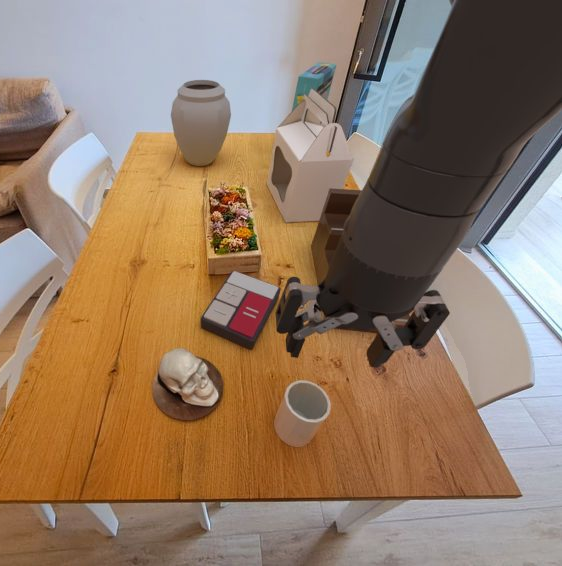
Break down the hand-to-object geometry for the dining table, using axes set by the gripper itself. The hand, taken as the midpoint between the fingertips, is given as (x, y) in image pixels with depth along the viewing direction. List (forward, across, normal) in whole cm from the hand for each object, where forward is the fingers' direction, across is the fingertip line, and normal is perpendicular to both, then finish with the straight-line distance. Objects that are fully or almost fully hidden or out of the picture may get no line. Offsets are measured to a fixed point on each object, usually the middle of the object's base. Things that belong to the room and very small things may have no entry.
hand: (331, 355), depth 37 cm
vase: (+20, -26, +91) cm, 97 cm away
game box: (+20, +10, +100) cm, 103 cm away
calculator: (+20, -9, +22) cm, 31 cm away
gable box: (+20, +6, +68) cm, 71 cm away
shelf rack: (+20, +15, +34) cm, 42 cm away
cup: (+20, 0, 0) cm, 20 cm away
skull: (+20, -17, +4) cm, 27 cm away
